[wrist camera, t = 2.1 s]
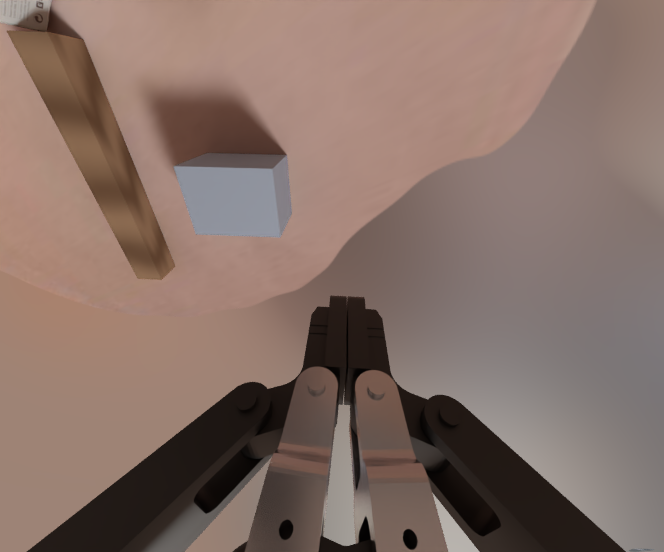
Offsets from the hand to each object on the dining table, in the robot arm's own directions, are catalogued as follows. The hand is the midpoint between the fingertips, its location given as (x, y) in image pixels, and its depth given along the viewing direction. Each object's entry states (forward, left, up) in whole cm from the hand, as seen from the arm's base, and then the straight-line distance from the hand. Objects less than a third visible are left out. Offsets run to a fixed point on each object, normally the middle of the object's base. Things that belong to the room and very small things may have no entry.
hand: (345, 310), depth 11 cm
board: (0, -24, -18) cm, 30 cm away
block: (0, -10, -18) cm, 21 cm away
